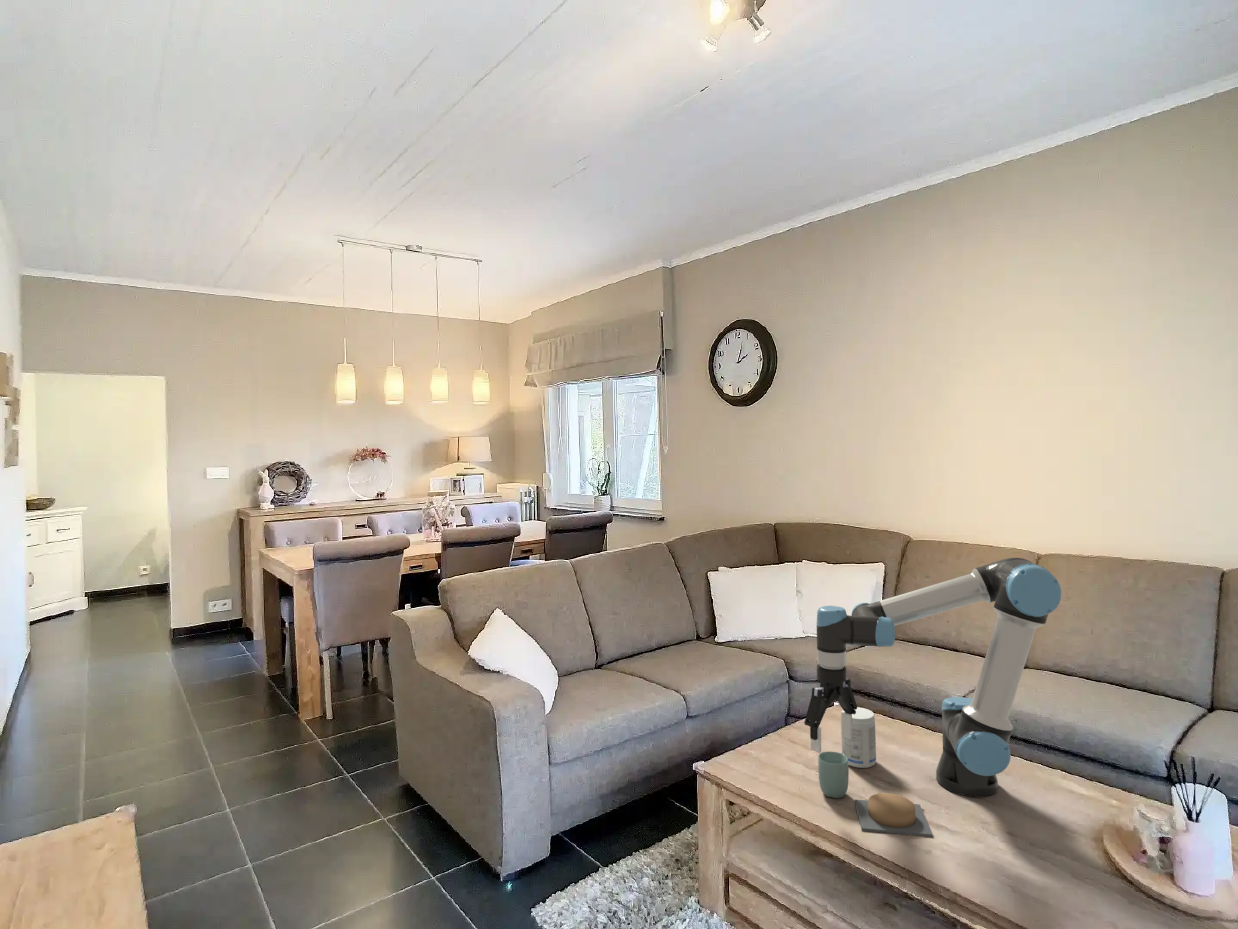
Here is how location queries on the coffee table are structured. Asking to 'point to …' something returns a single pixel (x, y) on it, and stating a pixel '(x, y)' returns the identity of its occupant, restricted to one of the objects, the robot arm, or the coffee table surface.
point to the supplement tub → (861, 740)
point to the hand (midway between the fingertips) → (831, 744)
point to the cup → (833, 774)
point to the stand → (892, 815)
